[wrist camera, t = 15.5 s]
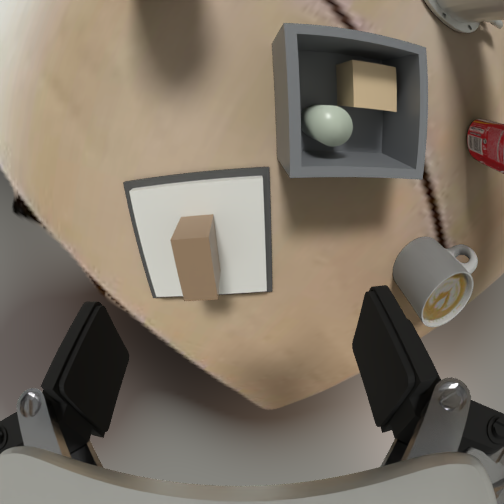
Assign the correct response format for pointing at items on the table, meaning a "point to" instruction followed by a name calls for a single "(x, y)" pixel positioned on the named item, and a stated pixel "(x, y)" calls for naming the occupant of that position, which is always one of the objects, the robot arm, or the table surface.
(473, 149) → the soda can
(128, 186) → the rubber mat
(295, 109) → the storage box
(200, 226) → the lid
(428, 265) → the coffee mug
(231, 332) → the table surface
